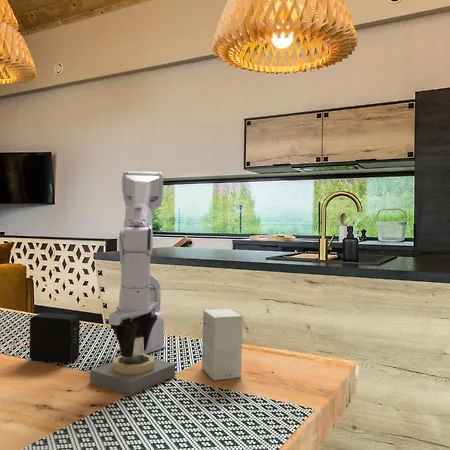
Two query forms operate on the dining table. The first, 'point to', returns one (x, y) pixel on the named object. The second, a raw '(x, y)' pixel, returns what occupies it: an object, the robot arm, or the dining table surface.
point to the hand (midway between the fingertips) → (134, 352)
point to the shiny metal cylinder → (136, 351)
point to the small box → (222, 343)
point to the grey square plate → (132, 374)
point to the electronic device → (54, 337)
